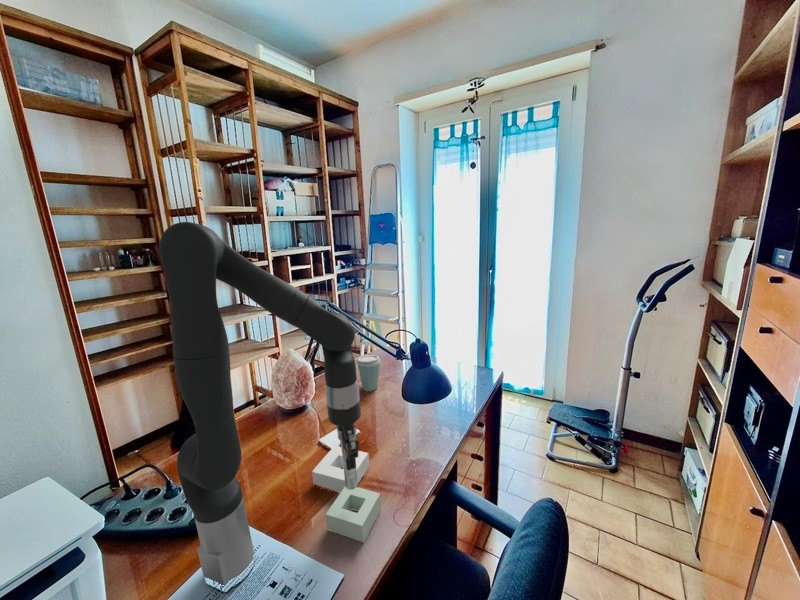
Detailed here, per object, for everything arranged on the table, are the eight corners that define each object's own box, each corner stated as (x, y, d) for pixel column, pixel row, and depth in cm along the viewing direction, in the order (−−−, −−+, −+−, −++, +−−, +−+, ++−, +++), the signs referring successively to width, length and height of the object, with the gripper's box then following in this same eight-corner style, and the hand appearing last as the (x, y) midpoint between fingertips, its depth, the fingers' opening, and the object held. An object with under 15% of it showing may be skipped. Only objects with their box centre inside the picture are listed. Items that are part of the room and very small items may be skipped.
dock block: (350, 496, 93) (348, 481, 92) (313, 486, 98) (311, 471, 97) (369, 467, 104) (368, 453, 103) (336, 458, 109) (334, 445, 107)
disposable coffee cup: (355, 386, 155) (352, 356, 151) (376, 380, 160) (374, 350, 156) (364, 396, 146) (361, 364, 142) (386, 389, 150) (384, 358, 147)
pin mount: (363, 543, 80) (362, 525, 79) (327, 530, 83) (325, 514, 82) (381, 509, 89) (380, 493, 88) (348, 499, 92) (346, 484, 91)
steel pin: (353, 491, 81) (350, 451, 79) (343, 487, 82) (338, 448, 80) (360, 482, 84) (356, 443, 82) (349, 479, 85) (345, 440, 83)
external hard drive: (318, 443, 117) (345, 426, 126) (332, 453, 112) (360, 434, 121) (317, 439, 117) (345, 422, 126) (332, 449, 112) (360, 430, 121)
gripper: (321, 389, 83) (328, 451, 87) (333, 418, 70) (341, 489, 74) (351, 382, 86) (356, 442, 90) (368, 409, 73) (373, 478, 77)
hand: (349, 463), depth 82 cm, fingers closed on steel pin, 3 cm apart
